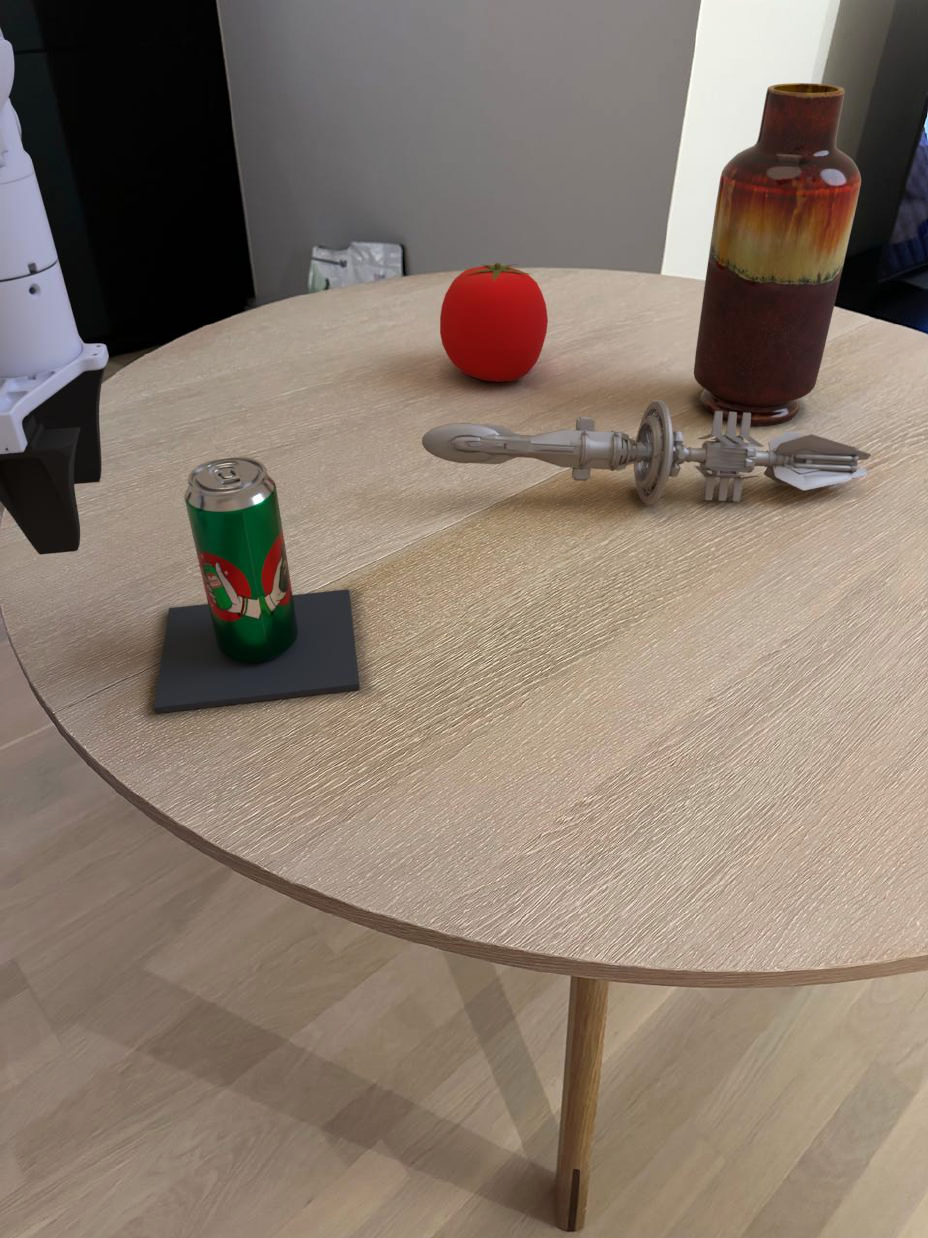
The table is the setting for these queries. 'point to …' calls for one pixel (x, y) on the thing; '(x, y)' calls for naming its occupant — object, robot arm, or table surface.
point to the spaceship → (658, 453)
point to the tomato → (493, 322)
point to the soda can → (242, 558)
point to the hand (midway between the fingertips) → (71, 513)
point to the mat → (215, 679)
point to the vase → (776, 258)
